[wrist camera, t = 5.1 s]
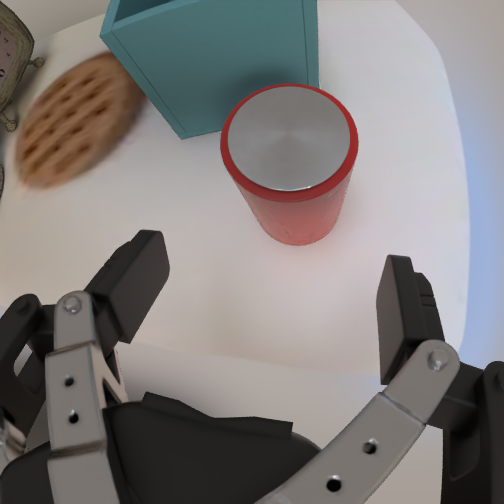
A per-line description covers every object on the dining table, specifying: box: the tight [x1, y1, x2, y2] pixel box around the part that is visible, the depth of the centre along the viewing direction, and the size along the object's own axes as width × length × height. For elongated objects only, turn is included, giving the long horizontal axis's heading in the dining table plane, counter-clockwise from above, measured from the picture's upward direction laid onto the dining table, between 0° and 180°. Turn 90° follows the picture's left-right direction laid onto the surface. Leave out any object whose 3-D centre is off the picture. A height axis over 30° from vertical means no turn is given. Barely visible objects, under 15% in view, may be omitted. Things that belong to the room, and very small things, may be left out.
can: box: [220, 83, 358, 246], centre depth 18 cm, size 6×6×10 cm
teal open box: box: [100, 0, 319, 139], centre depth 20 cm, size 14×12×13 cm
